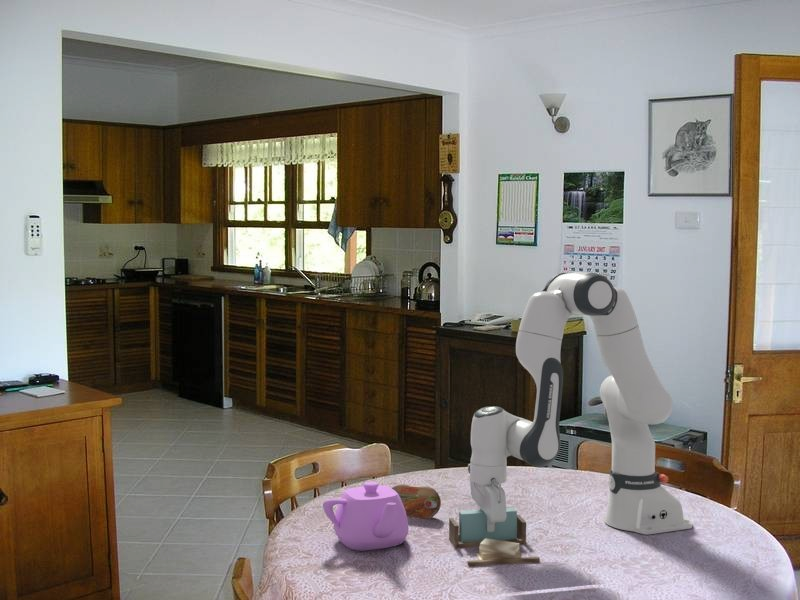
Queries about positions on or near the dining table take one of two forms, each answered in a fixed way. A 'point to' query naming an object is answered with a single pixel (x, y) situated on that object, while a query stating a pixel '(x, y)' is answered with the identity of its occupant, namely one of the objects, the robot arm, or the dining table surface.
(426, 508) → the tin
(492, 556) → the offcut middle
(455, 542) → the rack
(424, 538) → the dining table surface
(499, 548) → the offcut top
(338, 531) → the teapot
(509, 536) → the board
